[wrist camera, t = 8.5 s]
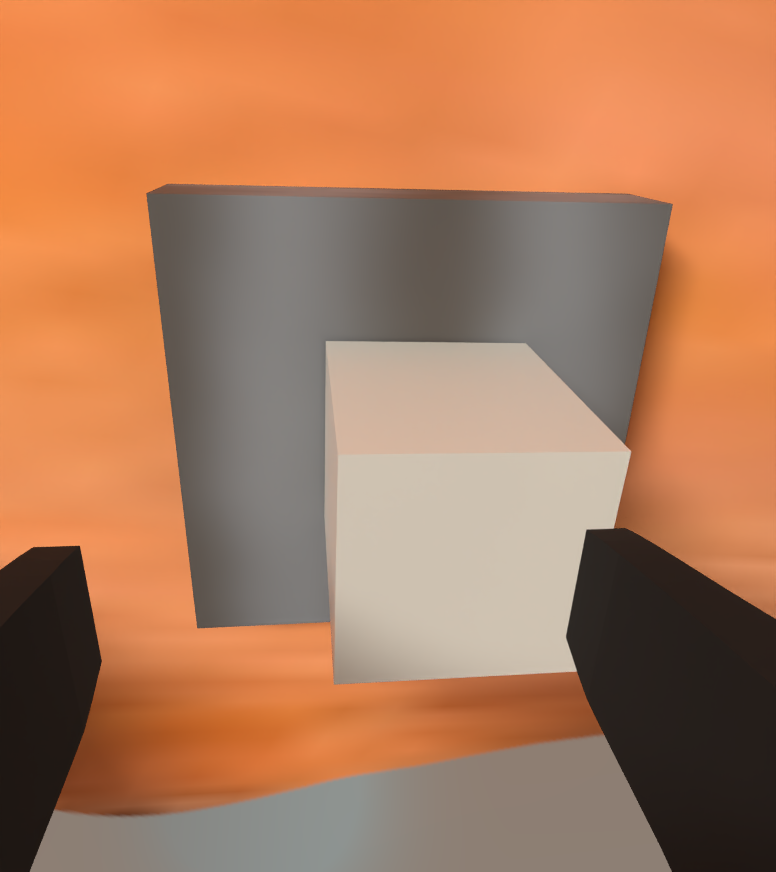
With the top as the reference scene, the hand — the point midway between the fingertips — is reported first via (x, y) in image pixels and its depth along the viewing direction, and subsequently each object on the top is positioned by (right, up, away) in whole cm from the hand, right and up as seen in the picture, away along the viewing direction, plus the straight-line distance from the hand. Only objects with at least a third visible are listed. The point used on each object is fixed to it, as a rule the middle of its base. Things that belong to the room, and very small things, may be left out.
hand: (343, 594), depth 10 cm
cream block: (+1, +2, +8) cm, 8 cm away
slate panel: (+1, +4, +11) cm, 11 cm away
